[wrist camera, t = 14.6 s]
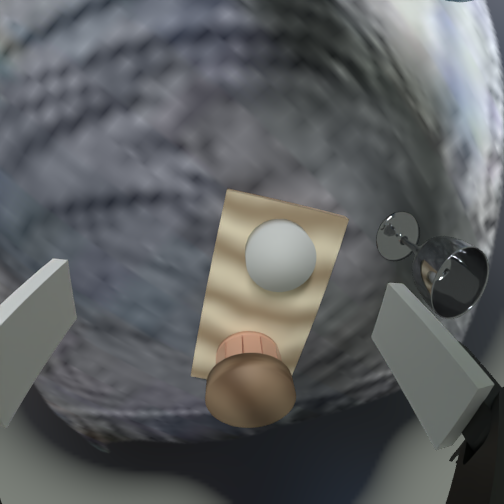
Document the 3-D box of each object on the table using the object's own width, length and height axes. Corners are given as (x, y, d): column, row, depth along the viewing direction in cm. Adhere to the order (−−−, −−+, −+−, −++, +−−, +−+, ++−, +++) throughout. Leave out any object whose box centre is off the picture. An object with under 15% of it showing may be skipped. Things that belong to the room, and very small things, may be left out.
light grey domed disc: (296, 207, 37) (301, 214, 34) (319, 265, 40) (325, 275, 37) (233, 235, 38) (233, 244, 35) (261, 290, 40) (263, 302, 38)
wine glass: (363, 234, 40) (420, 285, 26) (405, 196, 38) (476, 230, 24) (391, 274, 42) (446, 332, 28) (430, 238, 41) (495, 283, 27)
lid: (273, 339, 36) (276, 356, 33) (303, 395, 40) (307, 411, 37) (190, 370, 37) (188, 386, 34) (230, 419, 41) (230, 435, 38)
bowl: (264, 321, 42) (268, 348, 36) (288, 365, 45) (294, 393, 40) (204, 344, 43) (201, 373, 37) (233, 385, 46) (234, 413, 40)
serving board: (227, 188, 37) (227, 190, 36) (344, 216, 39) (348, 219, 38) (191, 369, 46) (190, 376, 45) (284, 382, 48) (286, 389, 47)
